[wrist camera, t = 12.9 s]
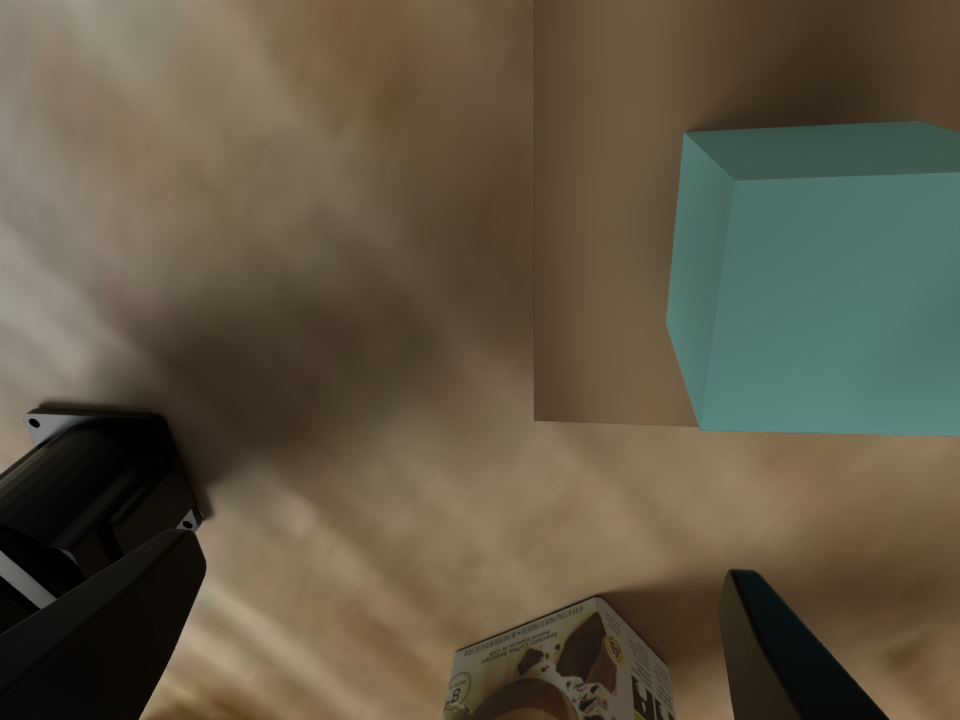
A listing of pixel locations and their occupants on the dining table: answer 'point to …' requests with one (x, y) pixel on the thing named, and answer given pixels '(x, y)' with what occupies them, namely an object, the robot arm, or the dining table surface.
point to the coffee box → (562, 672)
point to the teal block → (819, 279)
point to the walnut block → (658, 150)
